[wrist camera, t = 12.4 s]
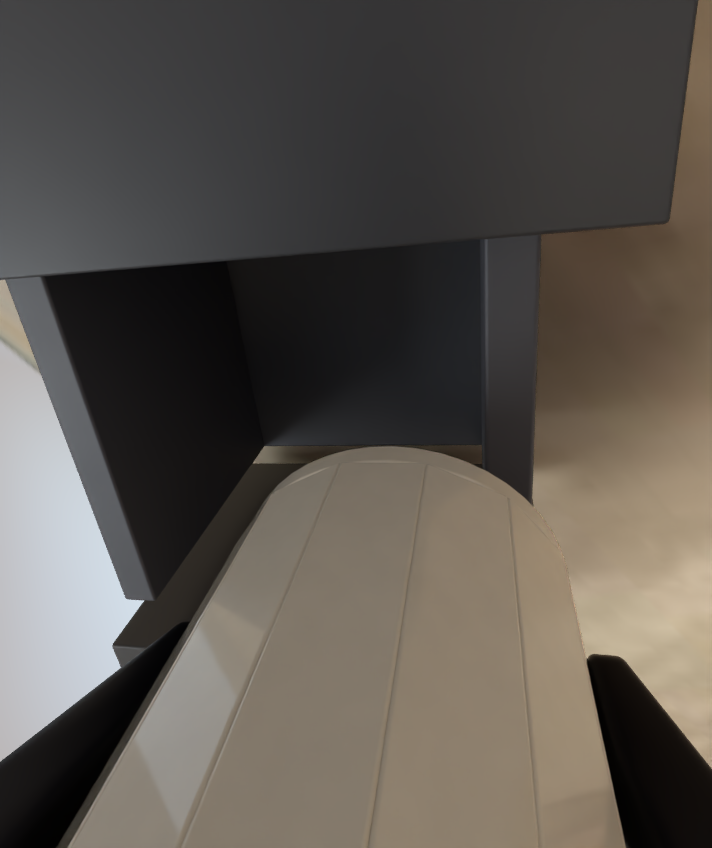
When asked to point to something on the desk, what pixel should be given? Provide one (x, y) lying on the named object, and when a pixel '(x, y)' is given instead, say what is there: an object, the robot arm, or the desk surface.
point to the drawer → (273, 387)
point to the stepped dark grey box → (328, 125)
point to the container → (371, 680)
